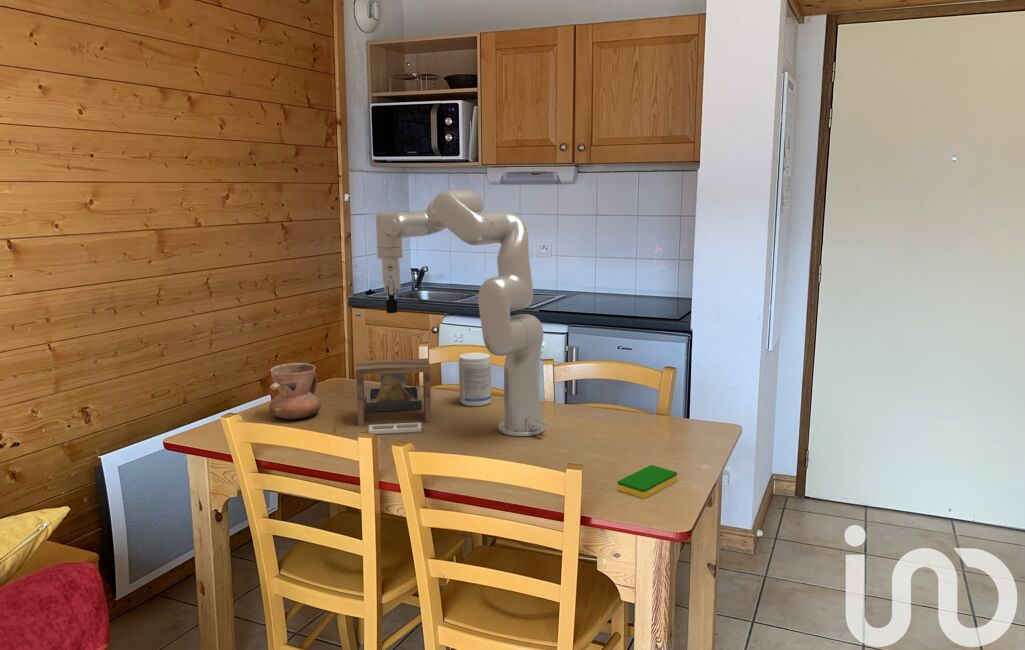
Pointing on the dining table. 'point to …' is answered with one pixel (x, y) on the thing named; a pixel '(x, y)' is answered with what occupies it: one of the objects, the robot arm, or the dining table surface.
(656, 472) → the dish sponge
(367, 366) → the tunnel
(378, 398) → the rock
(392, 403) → the slider
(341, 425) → the dining table surface
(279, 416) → the ceramic jug
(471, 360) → the supplement tub
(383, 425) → the plate
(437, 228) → the robot arm
